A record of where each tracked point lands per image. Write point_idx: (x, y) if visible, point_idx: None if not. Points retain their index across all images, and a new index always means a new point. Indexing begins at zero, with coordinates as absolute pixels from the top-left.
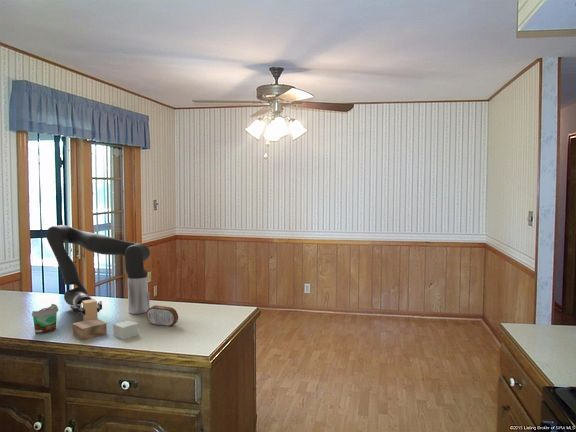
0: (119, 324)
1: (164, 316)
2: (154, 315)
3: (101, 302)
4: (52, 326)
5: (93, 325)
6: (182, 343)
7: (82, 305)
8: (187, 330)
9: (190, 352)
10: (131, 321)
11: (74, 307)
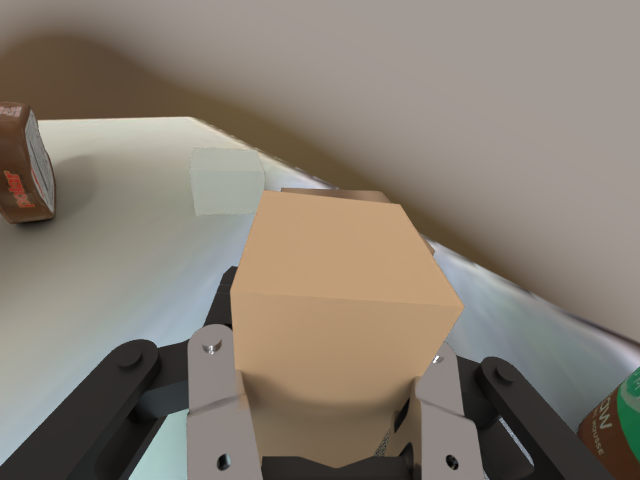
0: (247, 163)
1: (38, 147)
2: (36, 166)
3: None
4: (603, 406)
5: (335, 193)
6: (172, 136)
7: (436, 408)
8: (72, 152)
9: (199, 125)
10: (193, 161)
11: (555, 423)
